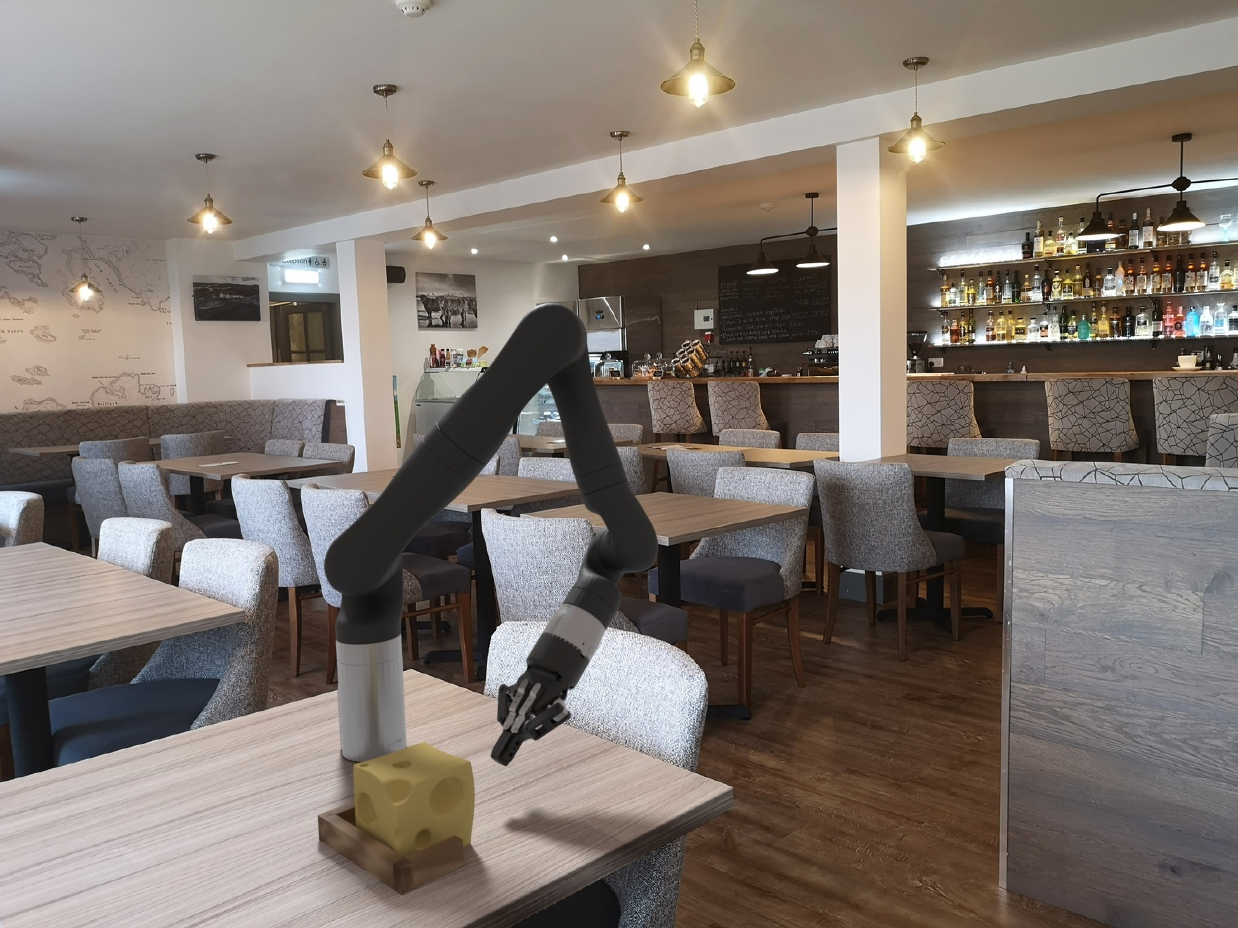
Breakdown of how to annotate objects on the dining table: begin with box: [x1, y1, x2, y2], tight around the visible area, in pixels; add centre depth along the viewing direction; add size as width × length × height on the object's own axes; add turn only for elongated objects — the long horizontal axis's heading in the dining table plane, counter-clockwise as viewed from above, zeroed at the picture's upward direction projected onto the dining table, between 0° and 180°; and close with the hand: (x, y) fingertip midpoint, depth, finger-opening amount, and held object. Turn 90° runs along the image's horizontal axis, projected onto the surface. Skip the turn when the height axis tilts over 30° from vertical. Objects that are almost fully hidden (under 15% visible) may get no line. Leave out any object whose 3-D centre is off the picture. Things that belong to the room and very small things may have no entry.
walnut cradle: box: [317, 800, 465, 896], centre depth 107 cm, size 18×8×3 cm, turn 45°
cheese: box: [352, 741, 476, 857], centre depth 108 cm, size 10×11×10 cm
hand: (498, 761), depth 118 cm, fingers closed
